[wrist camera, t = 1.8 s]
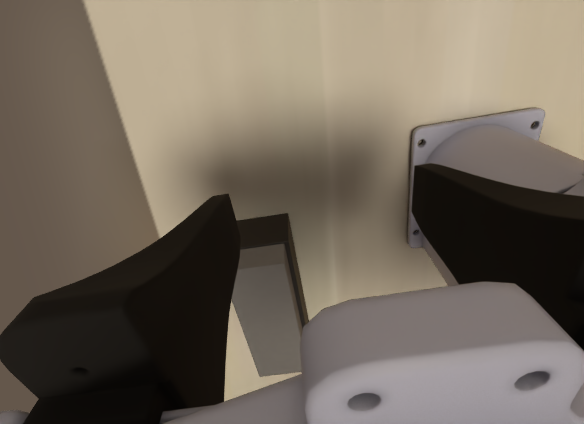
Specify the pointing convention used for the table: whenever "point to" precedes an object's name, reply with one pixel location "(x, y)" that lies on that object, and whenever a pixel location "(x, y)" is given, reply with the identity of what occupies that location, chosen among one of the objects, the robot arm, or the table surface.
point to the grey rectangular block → (270, 294)
